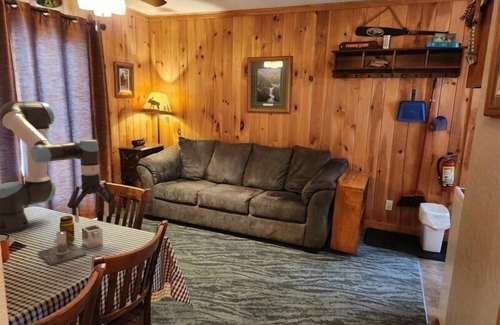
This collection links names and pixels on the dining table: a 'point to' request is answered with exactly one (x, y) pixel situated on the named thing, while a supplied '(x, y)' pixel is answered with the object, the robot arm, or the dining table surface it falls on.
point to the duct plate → (61, 258)
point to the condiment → (67, 229)
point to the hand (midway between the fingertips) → (92, 218)
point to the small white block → (92, 236)
